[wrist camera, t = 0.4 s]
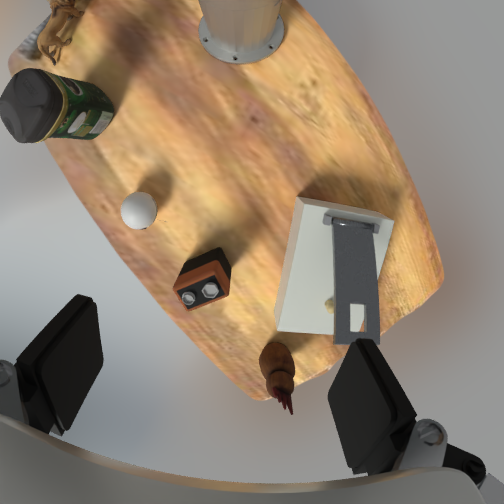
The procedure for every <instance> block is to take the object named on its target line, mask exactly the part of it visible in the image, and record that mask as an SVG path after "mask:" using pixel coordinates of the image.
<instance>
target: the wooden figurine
mask: <svg viewBox="0 0 504 504" xmlns="http://www.w3.org/2000/svg"><path fill="white" fill-rule="evenodd" d="M259 365H260V368H261V372H262V374H263V376H264V378H265V379H266V387H267V391H268V393H269V394H270V395H271V396H272V397H274V398H277V399H278V402H279V403H280V402H281V401H282V405H283V408H284V409H286V404H287V406H288V409H289V411H290V413H291V415H292V414H293V409H292V401H291V394H292V392H293V390H294V381H293V377H294V375H295V365H294V361H293V358H292V356H291V354H290V352H289V350H288V349H287V348H286V346H285V345H283V344H281V343H271V344H268V345H267V346H266V347H264V349H263V351H262V353H261V355H260V357H259Z"/></svg>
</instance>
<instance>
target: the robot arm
mask: <svg viewBox="0 0 504 504" xmlns="http://www.w3.org/2000/svg"><path fill="white" fill-rule="evenodd" d="M281 3H282V0H199V4H200V7H201V10H202V13H203V17H202V18H201V21H200V24H199V30H198V32H199V38H200V41H201V43H202V45H203V47H204V48H205V49H206V51H207V52H208V53H209V54H211V55H212V56H213V57H214V58H216V59H218V60H220V61H223V62H226V63H231V64H250V63H255V62H258V61H261V60H263V59H265V58H267V57H268V56H270V55H271V54H272V53H274V52H275V50H276V49H277V48H278V47H279V45H280V43H281V42H282V39H283V35H284V23H283V20H282V18H281V16H280V14H279V10H280V7H281ZM206 40H208V41H207V42H205V41H206ZM269 47H272V49H270V48H269ZM235 58H237V60H234V59H235ZM16 360H17V362H16V363H15V365H14V366H13V364H12V363H10V362H8V361H6V360H0V504H504V484H503V483H501V482H500V481H499V480H497V479H496V478H495V477H494V476H492V475H491V474H490V473H488V474H487V475H486V468H485V465H484V463H483V461H482V460H481V459H480V458H478V457H477V456H475V455H473V454H470V453H468V452H466V451H464V450H461V449H459V448H457V447H455V446H452V445H450V444H448V443H447V433H446V431H445V429H444V427H443V426H442V425H441V424H439V423H438V422H436V421H434V420H431V419H422V420H419V421H418V422H416V420H415V417H416V416H417V414H416V412H415V410H414V408H413V407H412V405H411V403H410V401H409V399H408V398H407V396H406V394H405V392H404V391H403V389H402V387H401V385H400V384H399V382H398V380H397V379H396V377H395V375H394V374H393V372H392V370H391V369H390V367H389V365H388V363H387V362H386V360H385V358H384V357H383V355H382V353H381V352H380V350H379V349H378V347H377V345H376V344H375V342H374V341H373V339H366V338H358V339H356V340H355V342H352V343H351V344H350V347H349V349H348V351H347V353H346V356H345V358H344V360H343V363H342V364H341V367H340V369H339V371H338V373H337V375H336V377H335V380H334V381H333V383H332V385H331V387H330V389H329V392H328V401H329V405H330V408H331V411H332V414H333V418H334V421H335V425H336V428H337V431H338V435H339V438H340V441H341V445H342V448H343V451H344V455H345V458H346V462H347V465H348V467H349V468H352V471H353V474H360V473H366V472H367V473H368V476H364V477H357V478H349V479H342V480H334V481H323V482H311V483H288V484H262V483H239V482H226V481H216V480H207V479H200V478H193V477H186V476H180V475H174V474H169V473H164V472H160V471H155V470H150V469H147V468H143V467H138V466H134V465H131V464H127V463H124V462H120V461H117V460H114V459H111V458H108V457H105V456H101V455H99V454H95V453H93V452H90V451H87V450H85V449H82V448H79V447H77V446H74V445H72V444H69V443H67V442H64V441H62V440H59V439H57V438H55V437H53V436H50V435H48V434H49V432H50V431H51V432H53V433H55V434H57V435H60V436H62V435H63V433H64V431H65V430H66V431H67V430H69V429H70V427H71V425H72V423H73V421H74V419H75V417H76V415H77V413H78V411H79V409H80V407H81V405H82V404H83V402H84V399H85V398H86V396H87V394H88V392H89V390H90V388H91V386H92V385H93V383H94V381H95V379H96V377H97V375H98V374H99V372H100V370H101V368H102V366H103V352H102V346H101V339H100V331H99V323H98V313H97V305H96V303H95V302H93V300H92V298H90V297H87V296H83V295H80V294H77V295H76V296H74V297H73V299H71V301H69V302H68V303H67V305H66V306H65V307H64V308H63V309H62V310H61V311H60V312H59V313H58V314H57V315H56V316H55V317H54V318H53V319H52V320H51V321H50V322H49V323H48V324H47V325H46V326H45V327H44V329H43V330H42V331H41V332H40V333H39V334H38V335H37V336H36V337H35V338H34V340H33V341H32V342H31V343H30V344H29V345H28V347H26V349H25V350H24V351H23V352H22V353H21V354H20V356H19V357H18V358H17V359H16Z"/></svg>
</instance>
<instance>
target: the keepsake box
mask: <svg viewBox="0 0 504 504" xmlns="http://www.w3.org/2000/svg"><path fill="white" fill-rule="evenodd" d="M332 216H334V217H339V218H345V219H350V220H356V221H361V222H367V223H372V224H373V238H374V247H375V257H376V267H377V280H378V277H379V274H380V271H381V267H382V264H383V261H384V257H385V254H386V251H387V247H388V244H389V240H390V236H391V233H392V229H393V225H394V220H392V219H390V218H388V217H386V216H385V215H383V214H381V213H379V212H377V211H372V210H368V209H363V208H358V207H353V206H348V205H343V204H338V203H332V202H327V201H321V200H316V199H310V198H304V197H298V196H296V201H295V207H294V212H293V217H292V223H291V228H290V233H289V239H288V244H287V249H286V254H285V259H284V264H283V269H282V274H281V279H280V283H279V288H278V293H277V298H276V302H275V307H274V315H275V321H276V327H277V331H285V332H298V333H314V334H333V335H334V276H333V245H332V226H331V219H332ZM363 320H364V305H359V304H350V331H352V332H359V330H360V328H361V325H362V322H363Z"/></svg>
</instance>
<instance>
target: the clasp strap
mask: <svg viewBox="0 0 504 504" xmlns="http://www.w3.org/2000/svg"><path fill="white" fill-rule="evenodd" d="M331 226H332V245H333V276H334V335H333V344H337V345H350V344H351V343H352V342H355V340H356V339H358V338H366V339H373V341H374V342H375V344H376V345H379V344H380V317H379V295H378V280H377V267H376V257H375V247H374V238H373V224H372V223H367V222H361V221H356V220H350V219H345V218H339V217H334V216H332V219H331ZM350 304H359V305H364V332H352V331H350Z"/></svg>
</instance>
